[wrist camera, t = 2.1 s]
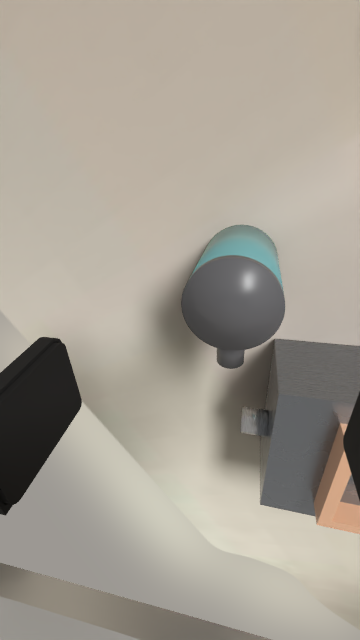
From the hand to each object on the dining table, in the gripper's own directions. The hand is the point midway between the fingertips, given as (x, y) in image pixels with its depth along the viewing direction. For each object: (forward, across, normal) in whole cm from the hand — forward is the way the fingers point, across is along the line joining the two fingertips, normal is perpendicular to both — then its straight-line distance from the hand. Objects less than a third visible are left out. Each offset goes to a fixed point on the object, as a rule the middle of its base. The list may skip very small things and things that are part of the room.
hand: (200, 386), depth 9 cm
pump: (+13, -1, 0) cm, 13 cm away
